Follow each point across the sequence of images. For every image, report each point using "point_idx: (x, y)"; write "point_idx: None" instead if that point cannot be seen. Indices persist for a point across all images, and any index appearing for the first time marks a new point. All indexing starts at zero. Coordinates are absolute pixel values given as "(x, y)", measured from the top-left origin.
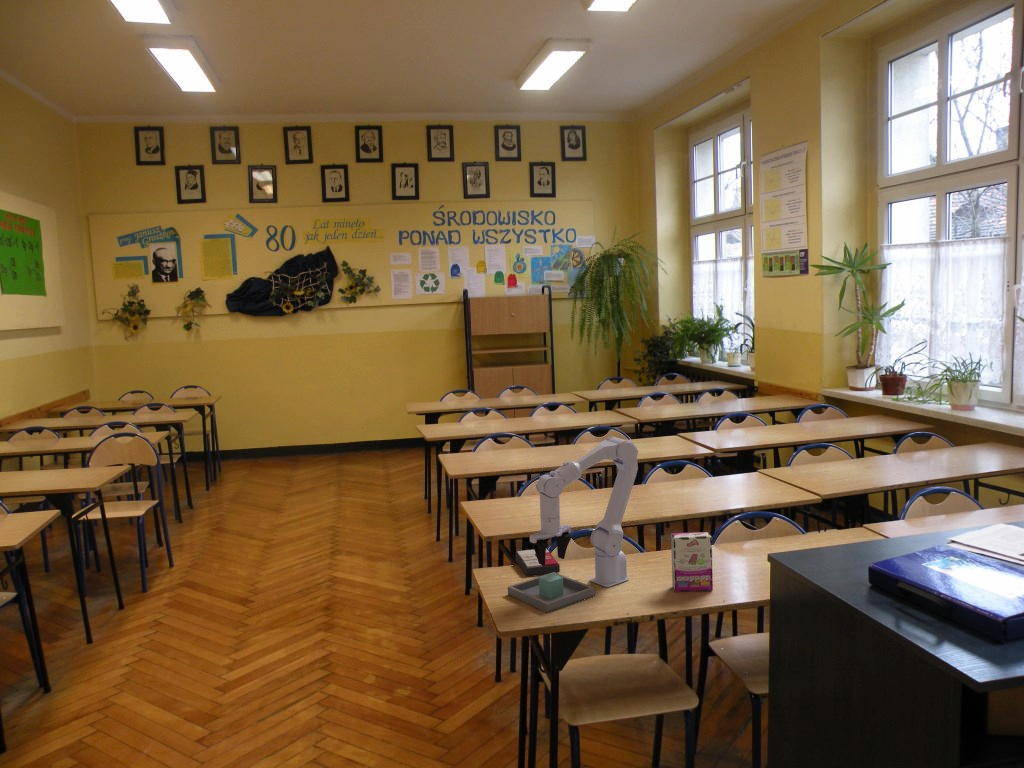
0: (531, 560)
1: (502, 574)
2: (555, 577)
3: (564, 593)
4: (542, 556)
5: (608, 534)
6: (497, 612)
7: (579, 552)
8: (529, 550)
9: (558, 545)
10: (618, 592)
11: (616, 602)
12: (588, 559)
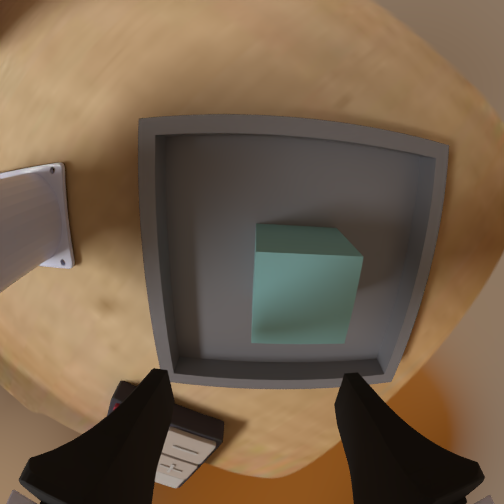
0: (178, 456)
1: (265, 453)
2: (287, 286)
3: (245, 228)
4: (396, 416)
5: None
6: (489, 276)
7: (33, 402)
8: None
9: (151, 468)
10: (66, 101)
11: (143, 24)
12: (24, 368)
